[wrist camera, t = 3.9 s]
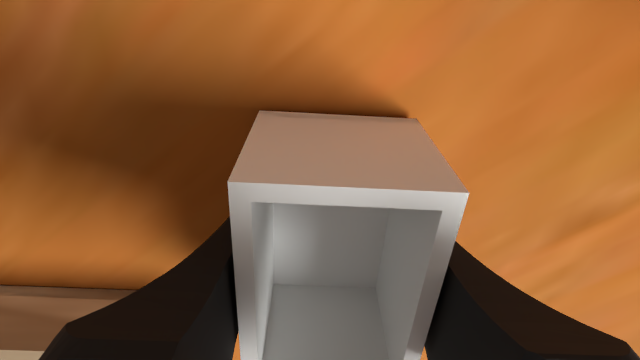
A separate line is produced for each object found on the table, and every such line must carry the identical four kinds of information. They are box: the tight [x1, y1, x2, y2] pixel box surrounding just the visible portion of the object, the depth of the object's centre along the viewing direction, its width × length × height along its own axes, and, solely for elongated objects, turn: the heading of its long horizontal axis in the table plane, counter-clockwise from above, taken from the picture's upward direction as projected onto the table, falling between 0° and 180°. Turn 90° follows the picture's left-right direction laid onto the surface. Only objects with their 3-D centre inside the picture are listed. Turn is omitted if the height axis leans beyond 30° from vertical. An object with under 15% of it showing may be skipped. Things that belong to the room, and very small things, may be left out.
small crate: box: [227, 110, 469, 360], centre depth 12 cm, size 8×5×5 cm
